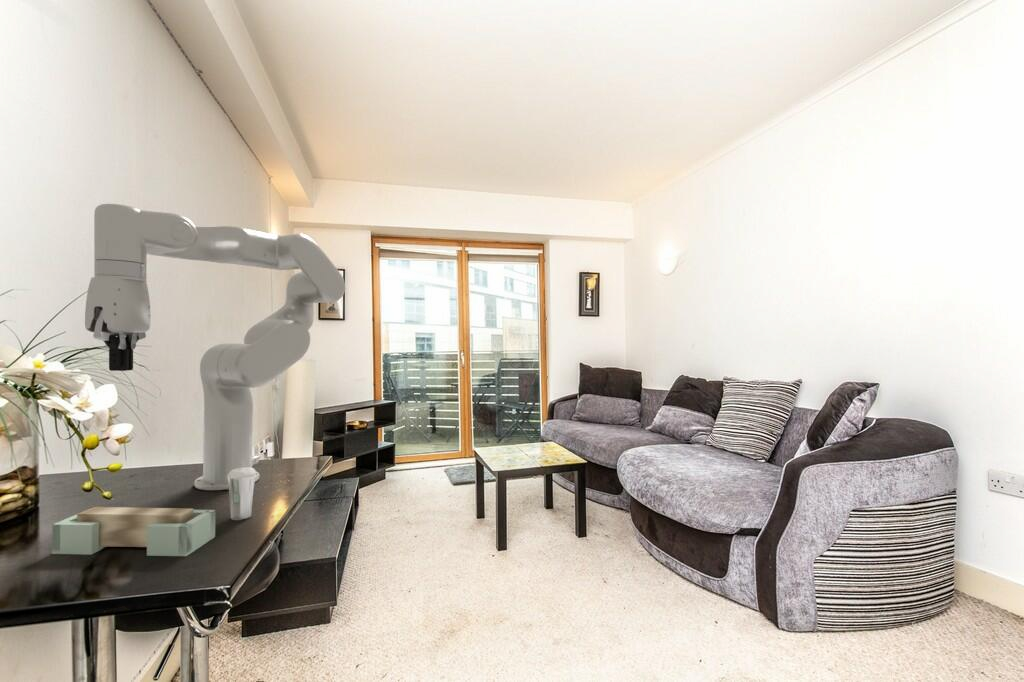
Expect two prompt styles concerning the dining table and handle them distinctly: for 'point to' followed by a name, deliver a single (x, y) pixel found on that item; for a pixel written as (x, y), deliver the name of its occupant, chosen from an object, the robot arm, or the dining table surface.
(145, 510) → the slat
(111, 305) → the robot arm
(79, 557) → the dining table surface
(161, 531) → the endcap
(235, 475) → the milkshake
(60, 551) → the endcap
